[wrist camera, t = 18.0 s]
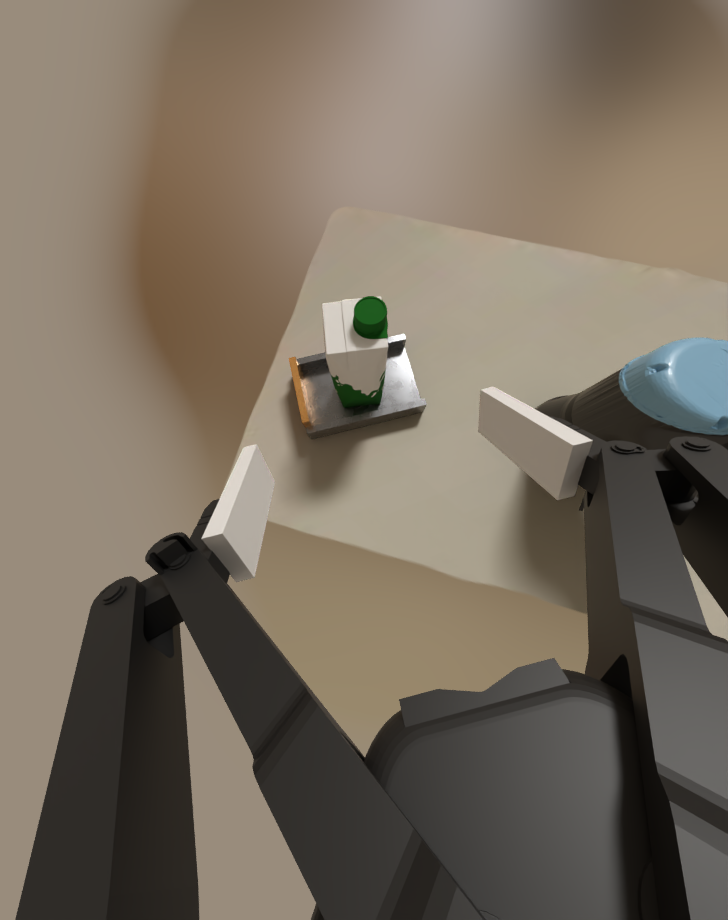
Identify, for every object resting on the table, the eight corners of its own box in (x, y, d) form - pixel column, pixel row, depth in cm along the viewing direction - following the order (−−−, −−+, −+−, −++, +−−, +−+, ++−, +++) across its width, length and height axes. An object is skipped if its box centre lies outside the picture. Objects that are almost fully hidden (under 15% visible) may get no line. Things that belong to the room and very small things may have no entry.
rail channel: (402, 345, 54) (405, 324, 49) (422, 411, 51) (429, 398, 46) (296, 370, 54) (287, 352, 48) (311, 439, 51) (303, 429, 45)
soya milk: (385, 407, 51) (394, 340, 31) (338, 413, 51) (317, 349, 31) (380, 366, 52) (385, 277, 33) (334, 371, 53) (312, 285, 33)
